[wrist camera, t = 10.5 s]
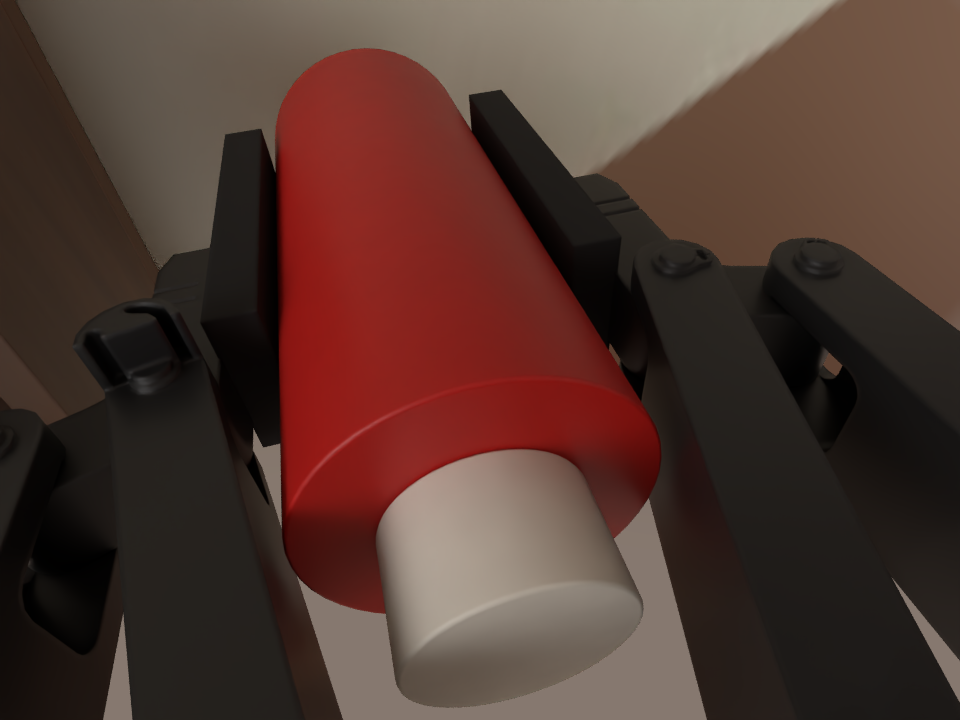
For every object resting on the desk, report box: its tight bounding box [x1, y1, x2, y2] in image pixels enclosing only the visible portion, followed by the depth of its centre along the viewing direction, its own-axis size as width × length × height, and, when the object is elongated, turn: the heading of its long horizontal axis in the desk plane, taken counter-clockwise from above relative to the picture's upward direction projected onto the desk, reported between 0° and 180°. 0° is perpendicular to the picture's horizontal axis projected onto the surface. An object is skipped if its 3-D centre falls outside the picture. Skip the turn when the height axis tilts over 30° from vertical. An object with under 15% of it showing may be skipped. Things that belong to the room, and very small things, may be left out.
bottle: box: [275, 48, 662, 708], centre depth 11 cm, size 5×5×13 cm
